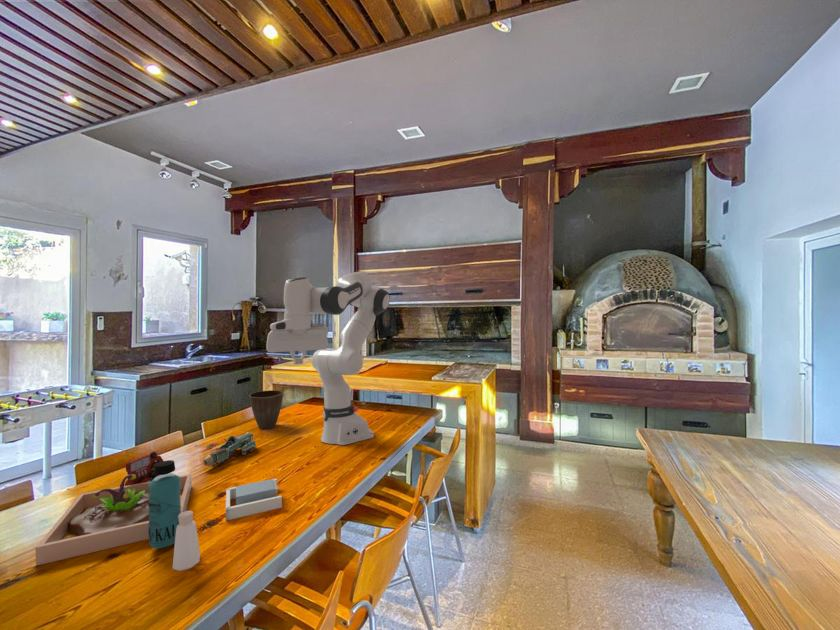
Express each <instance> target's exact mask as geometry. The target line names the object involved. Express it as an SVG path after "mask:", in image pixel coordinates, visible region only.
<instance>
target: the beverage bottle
mask: <svg viewBox="0 0 840 630" xmlns="http://www.w3.org/2000/svg"><path fill="white" fill-rule="evenodd" d="M174 471H176V464H175V461H174V460H172V459H171V460H170V459H169V460H163V461H162V462H159V463H157V464H156V465H155V468H154V474H155V475H160V476H157V477H156V478H154V479H153V480H152V481H151V482H150V483H149V500H148V501H149V503H148V504H149V525H148V538H149V539H148V543H149V546H150V548H153V549H161V548H166V547H169V546H171V545H173V544H175V536H176V528H177V525H179V518H178V515H179V514H180V513H181V508H182V507H181V504H180V501H181V490H180V477H179V476H180V475H177V474H175V473H173V472H174Z"/></svg>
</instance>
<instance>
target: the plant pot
mask: <svg viewBox="0 0 840 630" xmlns="http://www.w3.org/2000/svg"><path fill="white" fill-rule="evenodd" d="M283 395H284V392H283V391H282V390H270V389H269V390H263V391H256V392H253V393H250V394H249V400H250V401H249V402H250V407H251V410H252V414H253V417H254V420H255V422H256V424H257V427H258V428H259V429H260V430H269V429H272V428H275V427H276V425H277V422H278V419H279V416H280V411H281V408H282V404H283V398H284V397H283Z"/></svg>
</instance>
